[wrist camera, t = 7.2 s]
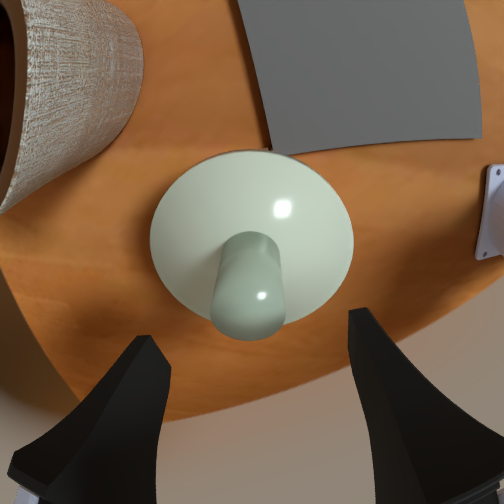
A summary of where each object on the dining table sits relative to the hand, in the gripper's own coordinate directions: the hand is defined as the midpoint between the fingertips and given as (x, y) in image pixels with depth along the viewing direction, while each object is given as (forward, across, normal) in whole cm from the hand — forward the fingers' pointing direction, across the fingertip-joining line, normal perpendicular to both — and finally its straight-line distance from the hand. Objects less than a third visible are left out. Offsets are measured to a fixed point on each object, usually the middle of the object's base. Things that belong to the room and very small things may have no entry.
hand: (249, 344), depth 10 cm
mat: (+9, -9, -11) cm, 17 cm away
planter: (+10, +9, -12) cm, 18 cm away
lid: (+6, 0, 0) cm, 6 cm away
